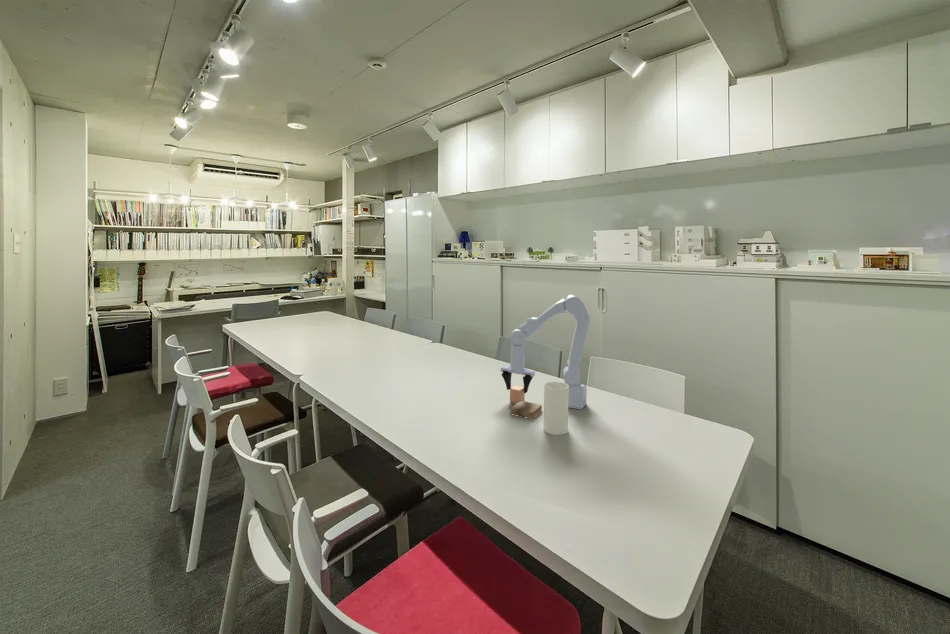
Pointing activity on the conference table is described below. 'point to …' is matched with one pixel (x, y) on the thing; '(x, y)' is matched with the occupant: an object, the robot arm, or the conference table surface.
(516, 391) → the block
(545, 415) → the cup
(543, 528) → the conference table surface
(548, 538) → the conference table surface
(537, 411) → the base slab
